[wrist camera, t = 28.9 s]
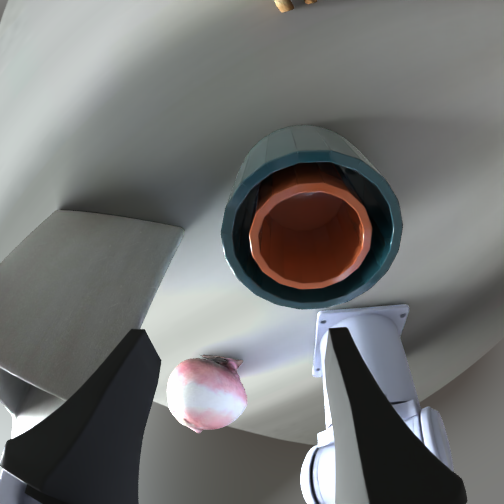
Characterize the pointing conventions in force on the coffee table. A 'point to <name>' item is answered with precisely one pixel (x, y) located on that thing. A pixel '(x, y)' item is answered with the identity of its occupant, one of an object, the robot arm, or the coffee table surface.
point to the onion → (206, 393)
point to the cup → (309, 226)
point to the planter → (73, 303)
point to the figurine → (289, 4)
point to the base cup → (364, 183)
